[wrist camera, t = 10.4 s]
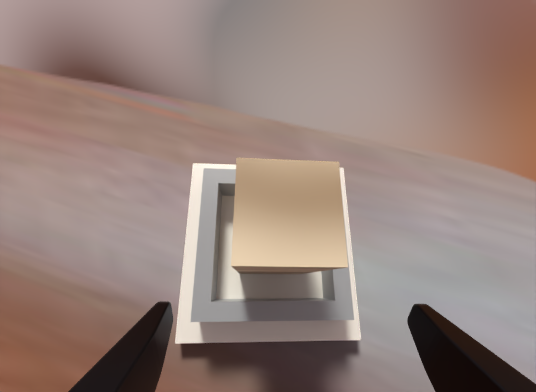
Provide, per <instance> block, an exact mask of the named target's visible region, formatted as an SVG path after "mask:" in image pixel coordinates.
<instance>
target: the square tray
mask: <svg viewBox="0 0 536 392" xmlns="http://www.w3.org/2000/svg"><path fill="white" fill-rule="evenodd" d="M339 169H340V180H341V191H342V202H343V214H344V225H345V236H346V248H347V259H348V268H340V269H333V270H326V271H319V272H312V273H304V274H239V273H238V272H237V271H236V270H235V269H234V268H233V267H232V266H231V256H232V236H233V217H234V198H235V179H236V165H228V164H195V163H193V170H192V180H191V190H190V200H189V210H188V220H187V230H186V239H185V249H184V259H183V269H182V279H181V289H180V299H179V309H178V319H177V329H176V339H175V343H229V342H284V341H338V340H361V334H360V324H359V314H358V305H357V295H356V285H355V276H354V266H353V256H352V247H351V237H350V227H349V218H348V208H347V198H346V189H345V179H344V169H343V168H339Z"/></svg>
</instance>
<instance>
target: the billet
mask: <svg viewBox="0 0 536 392" xmlns="http://www.w3.org/2000/svg"><path fill="white" fill-rule="evenodd" d="M231 266H232V267H233V268H234V269H235V270H236V271H237V272H238V273H239V274H304V273H312V272H319V271H326V270H333V269H340V268H348V259H347V248H346V236H345V225H344V214H343V202H342V191H341V180H340V169H339V162H329V161H305V160H280V159H256V158H237V159H236V179H235V198H234V217H233V236H232V256H231Z"/></svg>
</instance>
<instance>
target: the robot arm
mask: <svg viewBox="0 0 536 392" xmlns="http://www.w3.org/2000/svg"><path fill="white" fill-rule="evenodd" d="M172 324H173V314H172V308H171V303H170V302H164V301H160V302H158V303H156V304H155V305H154V306H153V307H152V308H151V309H150V310H149V311H148V312H147V313H146V314H145V315H144V316H143V317H142V318H141V319H140V320H139V321H138V322H137V323H136V324H135V325H134V326H133V327H132V328H131V329H130V330H129V331H128V332H127V333H126V334H125V335H124V336H123V337H122V338H121V339H120V340H119V341H118V342H117V343H116V344H115V345H114V346H113V347H112V348H111V349H110V350H109V351H108V352H107V353H106V354H105V355H104V356H103V357H102V358H101V359H100V360H99V361H98V362H97V363H96V364H95V365H94V366H93V367H92V368H91V369H90V370H89V371H88V372H87V373H86V374H85V375H84V376H83V377H82V378H81V379H80V380H79V381H78V382H77V383H76V384H75V385H74V386H73V387H72V388H71V389H70V390H69V391H68V392H155V390H156V387H157V384H158V381H159V378H160V374H161V371H162V367H163V363H164V359H165V354H166V350H167V346H168V341H169V337H170V333H171V328H172ZM408 326H409V329H410V331H411V334H412V337H413V339H414V342H415V345H416V348H417V350H418V353H419V356H420V358H421V361H422V363H423V366H424V368H425V371H426V373H427V375H428V377H429V379H430V381H431V383H432V385H433V388H434V390H435V392H536V384H535V383H534V382H532V381H531V380H529V379H528V378H527V377H525V376H524V375H523V374H521V373H520V372H518V371H517V370H516V369H514V368H513V367H512V366H510V365H509V364H508V363H506V362H505V361H503V360H502V359H501V358H499V357H498V356H497V355H495V354H494V353H493V352H491V351H490V350H488V349H487V348H486V347H484V346H483V345H482V344H480V343H479V342H477V341H476V340H475V339H473V338H472V337H471V336H469V335H468V334H467V333H465V332H464V331H462V330H461V329H460V328H458V327H457V326H456V325H454V324H453V323H452V322H450V321H449V320H447V319H446V318H445V317H443V316H442V315H441V314H439V313H438V312H436V311H435V310H434V309H432V308H431V307H430V306H428V305H426V304H414V305H413V307H412V309H411V312H410V314H409V316H408Z"/></svg>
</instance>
